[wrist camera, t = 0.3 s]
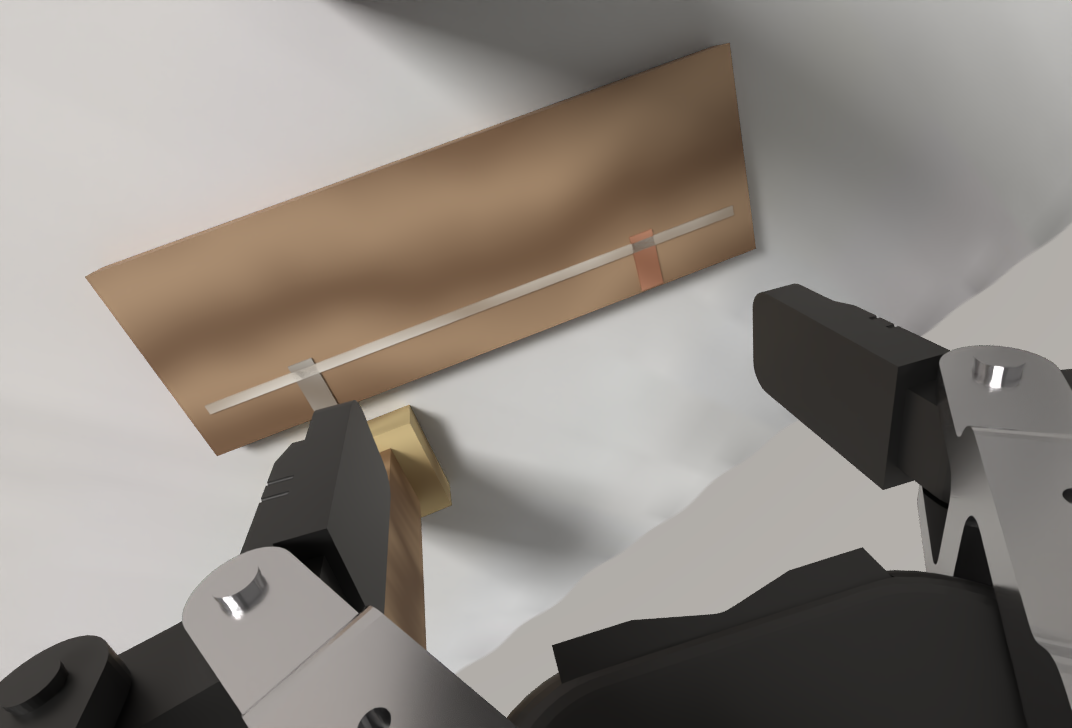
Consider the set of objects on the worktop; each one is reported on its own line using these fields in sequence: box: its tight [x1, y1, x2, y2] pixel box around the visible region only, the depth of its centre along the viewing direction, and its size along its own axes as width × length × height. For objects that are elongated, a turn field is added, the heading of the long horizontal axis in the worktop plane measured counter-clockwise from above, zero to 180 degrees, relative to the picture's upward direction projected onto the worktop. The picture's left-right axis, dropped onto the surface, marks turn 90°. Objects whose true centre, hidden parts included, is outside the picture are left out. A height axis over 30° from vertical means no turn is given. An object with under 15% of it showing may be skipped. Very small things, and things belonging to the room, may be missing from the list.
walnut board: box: [85, 43, 756, 456], centre depth 27 cm, size 10×30×2 cm, turn 108°
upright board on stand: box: [367, 405, 452, 650], centre depth 26 cm, size 6×7×14 cm
